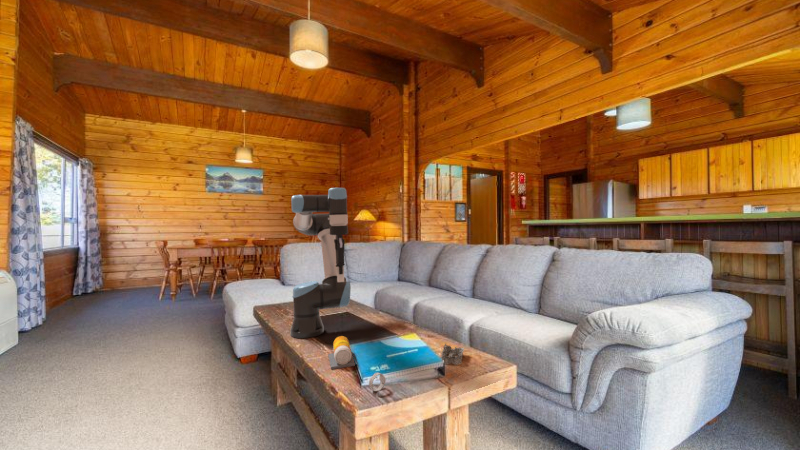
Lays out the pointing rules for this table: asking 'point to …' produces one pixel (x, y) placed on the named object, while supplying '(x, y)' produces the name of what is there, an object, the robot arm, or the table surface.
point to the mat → (335, 365)
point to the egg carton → (452, 355)
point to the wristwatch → (382, 381)
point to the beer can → (342, 350)
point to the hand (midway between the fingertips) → (340, 281)
